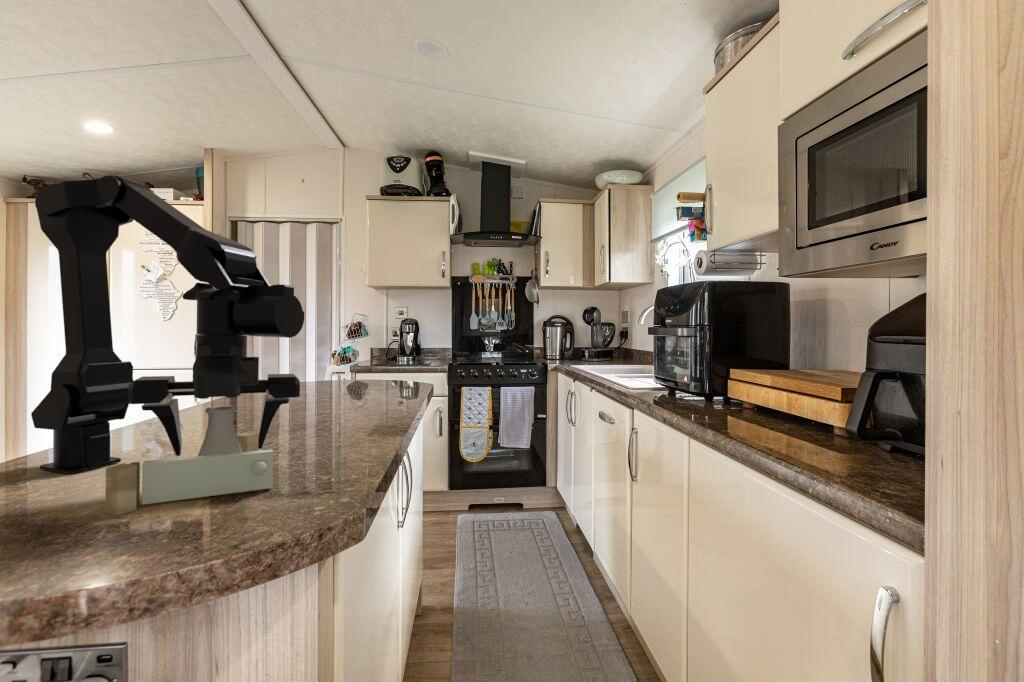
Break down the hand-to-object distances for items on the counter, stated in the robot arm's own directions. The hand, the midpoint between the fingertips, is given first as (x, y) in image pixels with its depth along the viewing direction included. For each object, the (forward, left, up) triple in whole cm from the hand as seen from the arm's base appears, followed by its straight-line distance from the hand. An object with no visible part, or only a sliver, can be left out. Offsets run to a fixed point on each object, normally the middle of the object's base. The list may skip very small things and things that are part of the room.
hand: (220, 451), depth 61 cm
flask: (0, 0, -4) cm, 4 cm away
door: (+4, -5, -4) cm, 8 cm away
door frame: (-1, -3, -4) cm, 5 cm away
